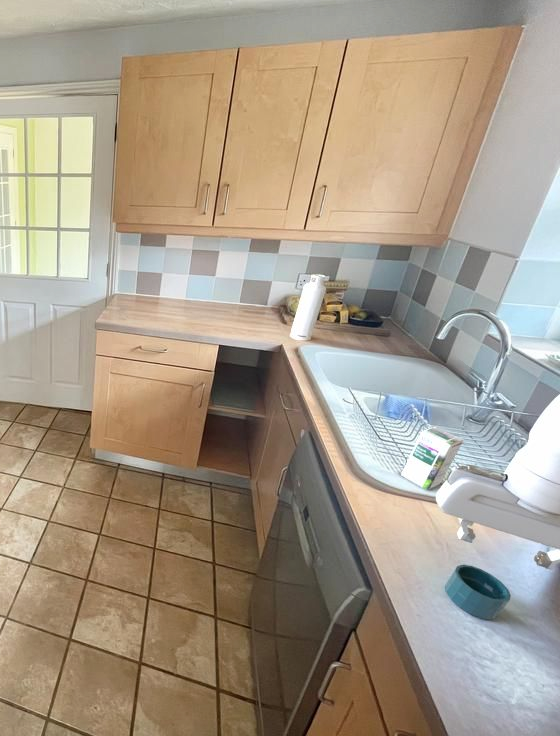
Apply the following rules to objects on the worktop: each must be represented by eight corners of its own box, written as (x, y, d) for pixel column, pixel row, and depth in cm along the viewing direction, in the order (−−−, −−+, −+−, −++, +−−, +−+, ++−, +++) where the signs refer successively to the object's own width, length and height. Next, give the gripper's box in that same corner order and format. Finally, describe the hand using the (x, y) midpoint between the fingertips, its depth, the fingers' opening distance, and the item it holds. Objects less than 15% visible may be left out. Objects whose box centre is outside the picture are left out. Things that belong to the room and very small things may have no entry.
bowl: (488, 595, 74) (502, 576, 72) (502, 628, 68) (517, 609, 66) (439, 577, 77) (451, 558, 75) (448, 607, 71) (461, 588, 69)
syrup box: (397, 479, 101) (421, 430, 95) (411, 473, 103) (435, 425, 97) (424, 495, 96) (451, 444, 90) (438, 488, 98) (465, 438, 92)
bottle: (285, 334, 186) (303, 273, 175) (299, 333, 189) (317, 272, 177) (300, 341, 179) (319, 278, 168) (314, 339, 182) (334, 277, 170)
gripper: (461, 472, 64) (424, 536, 70) (664, 529, 55) (602, 597, 60) (450, 450, 69) (417, 512, 75) (634, 499, 60) (580, 565, 65)
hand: (501, 551), depth 68 cm, fingers open, 8 cm apart
